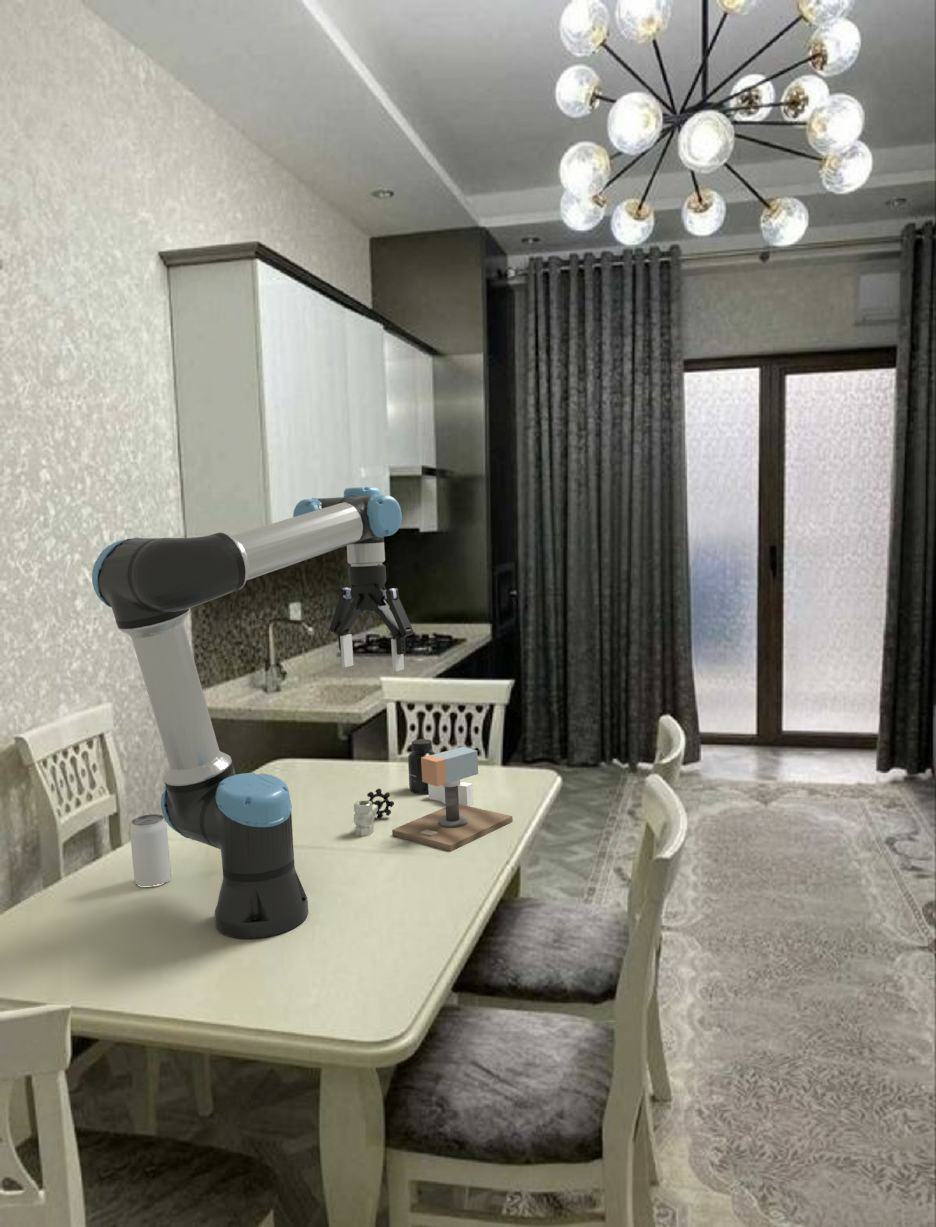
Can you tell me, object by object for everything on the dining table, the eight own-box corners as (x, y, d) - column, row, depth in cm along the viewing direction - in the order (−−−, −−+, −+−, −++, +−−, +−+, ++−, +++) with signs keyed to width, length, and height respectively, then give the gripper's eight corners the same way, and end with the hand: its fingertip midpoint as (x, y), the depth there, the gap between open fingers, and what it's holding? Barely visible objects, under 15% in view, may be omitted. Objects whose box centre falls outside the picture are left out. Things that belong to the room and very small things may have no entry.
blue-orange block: (478, 780, 191) (477, 750, 190) (437, 793, 184) (436, 761, 183) (463, 776, 195) (462, 746, 194) (422, 788, 188) (421, 757, 187)
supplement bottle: (405, 794, 215) (402, 744, 214) (415, 785, 222) (412, 737, 220) (432, 795, 213) (430, 745, 212) (442, 786, 220) (439, 738, 218)
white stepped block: (485, 809, 203) (483, 784, 203) (436, 816, 200) (435, 791, 199) (464, 790, 218) (463, 767, 217) (418, 797, 214) (417, 773, 213)
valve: (376, 837, 187) (395, 818, 199) (374, 806, 187) (393, 788, 198) (346, 836, 189) (366, 816, 201) (344, 805, 188) (364, 787, 200)
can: (178, 875, 172) (173, 814, 170) (158, 889, 166) (152, 826, 164) (148, 873, 173) (143, 812, 172) (127, 887, 167) (121, 824, 166)
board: (451, 851, 178) (448, 805, 177) (392, 835, 188) (389, 792, 187) (512, 821, 193) (510, 779, 192) (455, 808, 203) (453, 768, 202)
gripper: (427, 562, 179) (432, 669, 182) (333, 563, 194) (339, 661, 196) (403, 565, 173) (409, 675, 176) (308, 565, 188) (315, 667, 190)
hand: (372, 668), depth 186 cm, fingers open, 13 cm apart
